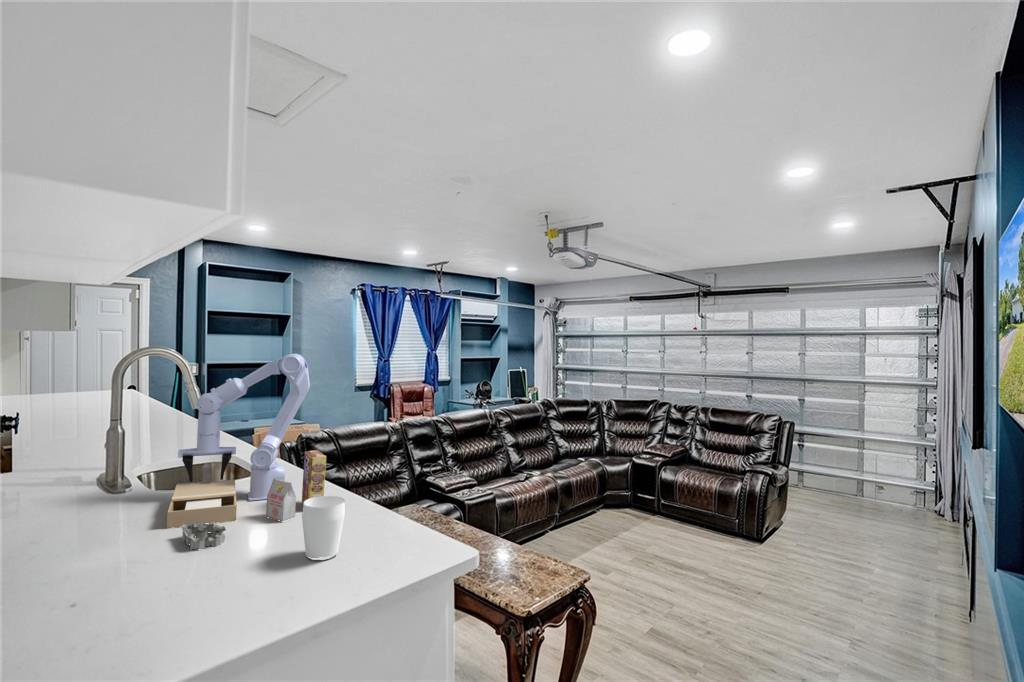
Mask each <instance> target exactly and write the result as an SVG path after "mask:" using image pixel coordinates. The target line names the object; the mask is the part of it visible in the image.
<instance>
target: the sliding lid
mask: <svg viewBox="0 0 1024 682" xmlns="http://www.w3.org/2000/svg"><path fill="white" fill-rule="evenodd" d="M211 477H212V468H211V467H209V468H203V469H202V479H201V480H202V481H198V482H186V483H183V482H182V483H176V486H175V488H174V492H173V494H172V497H171V501H170V503H171V502H172V501H183V500H193V499H204V498H215V497H225V496H236V497H237V491H236V479H223V480H213V481H211Z"/></svg>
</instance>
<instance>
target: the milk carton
mask: <svg viewBox="0 0 1024 682" xmlns="http://www.w3.org/2000/svg"><path fill="white" fill-rule="evenodd" d="M296 502H297V497H296V493H295V491H294V489H293V485H292V482H290V481H286V480H285V481H282V480H278V479H273V482H272V485H271V488H270V490H269V493H268V495H267V499H266V516H265V518H266V517H269V518H272V519H271V520H273V519H275V520H274V521H276V520H280V521H285V520H288V519H291V518H294V517H295V518H296ZM269 518H268V519H269Z"/></svg>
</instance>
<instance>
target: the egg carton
mask: <svg viewBox="0 0 1024 682" xmlns="http://www.w3.org/2000/svg"><path fill="white" fill-rule="evenodd" d="M181 528H182V529H181V530H182V539H183V540H186V541H185V542H186V543H185V545H186V544H187V545H189V544H190V545H189V547H190V548H189V549H190V550H191V549H204V550H205V548H204V547H206V546H209V547H211V546H210V545H214V546H213V547H215V546H217V547H219V546H218V545H220V546H221V545H222V544H224V543H223V542H225V538H226V536H225V533H224V532H226V527H225V526H224V525H222V526H221V525H219V524H218V525H217V524H215V523H213V522H210V523H209V524H205V522H203V523H196V524H193V523H192V524H191V525H185V524H182V527H181ZM207 532H211V533H212V534H211V537H208V533H207ZM195 536H196V537H195ZM183 540H182V541H183ZM221 543H222V544H221ZM187 545H186V546H187ZM206 548H207V547H206Z"/></svg>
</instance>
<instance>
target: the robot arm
mask: <svg viewBox="0 0 1024 682" xmlns="http://www.w3.org/2000/svg"><path fill="white" fill-rule="evenodd" d="M281 374H283V375H284V376H286V378H288V381H289V383H290V387H291V389H290V391H289V393H288V395H286V398H285V400H284V402H283V404H282V405H281V407H280V410H279V411H278V413H277V415H276V416H275V419H274V421H273V422H272V424H271V426H270V428H269V430H268V431H267V433H266V434H265V436H264V438H263V440H261V443H260V444H259V445H258V446H257V448H256V449H255V450H253V452H252V453H251V455H250V463H251V466H250V483H249V492H247V498H248V501H250V502H251V501H261V500H267V495H268V493H269V490H270V488H271V485H272V482H273V479H278V480H282V481H286V479H285V477H286V474H285V473H286V470H285V469H286V468H285V465H279V464H278V463H277V461H276V459H277V458H278V455H279V450H280V449H279V447H280V445H281V442H282V440H283V438H284V437H285V435H286V433H287V430H288V429H289V427H290V426H291V424H292V422H293V420H294V418H295V416H296V414H297V412H298V410H299V408H300V407H301V405H302V403H303V401H304V400H305V397H306V395H307V394H308V391H309V390H310V388H311V387H310V386H311V383H310V375H309V364H308V363H307V361H306V360H305V357H304V356H303V355H302V354H299V353H290V354H286V355H284V356H282V357H280V358H276V359H274V360H272V361H270V362H268V363H266V364H264V365H263V366H260V367H259V368H258V369H256V370H255V371H252V372H251V373H250V374H248V375H246V376H244V377H243V378H238V377H233V378H228V379H226V380H225V382H224V383H223V384H221V385H220V386H218V387H216V388H215V387H212V388H211V389H210V392H208V393H203V394H202V395H201V396H200V397H198V399H197V401H196V403H195V404H196V409H197V410H198V418H197V435H196V437H197V438H196V447H194V448H185V449H183V448H182V449H178V452H177V453H178V454H177V455H178V456H177V458H178V459H179V458H180V459H181V458H182V463H183V465H184V466H185V468H186V472H187V474H188V475H187V476H188V480H189V482H188V483H193V481H194V473H193V471H194V470H193V469H194V468H193V466H194V457H202V456H203V457H204V456H206V457H207V456H221V469H220V473H219V474H220V475H219V479H220V480H219V481H221V480H224V475H225V471H226V468H227V467H228V464H229V462H230V461H231V459H232V455H236V454H237V446H220V443H221V442H220V441H221V440H220V439H221V437H220V436H221V409H222V408H223V407H224V406H227V405H228V404H230V403H232V402H234V401H237V399H239V398H241V397H243V396H244V395H247V391H248V389H249V388H250V387H251V386H253V385H254V384H257V383H259V382H260V381H263V380H264V379H267V378H268V377H271V376H272V375H281ZM197 407H201V408H197Z"/></svg>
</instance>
